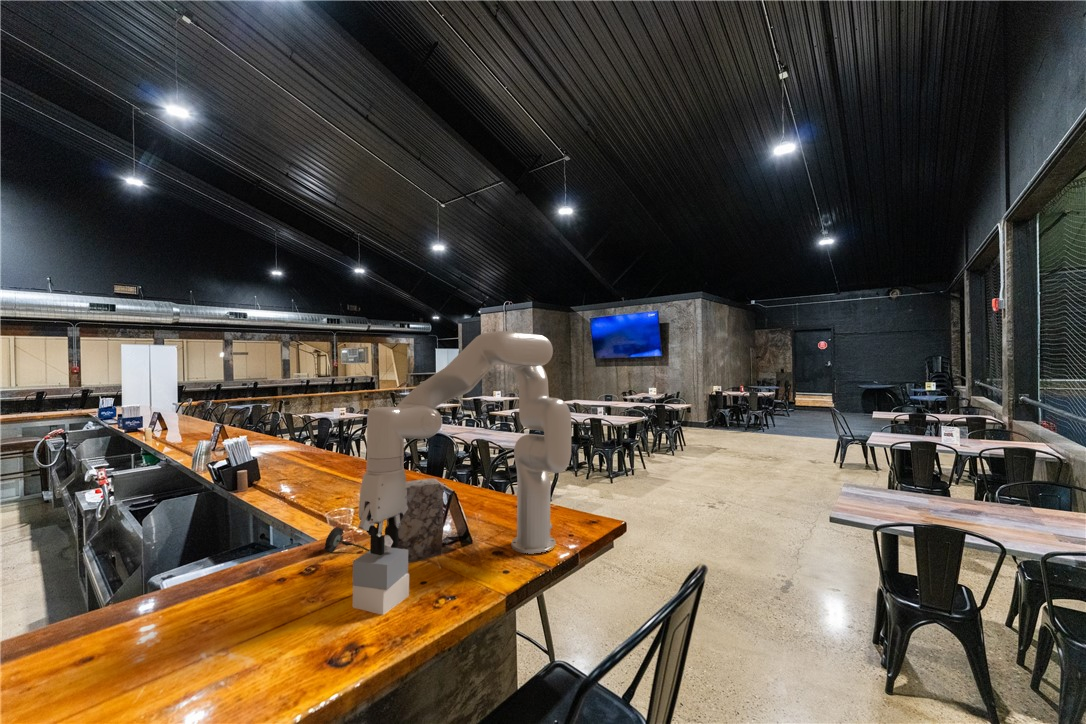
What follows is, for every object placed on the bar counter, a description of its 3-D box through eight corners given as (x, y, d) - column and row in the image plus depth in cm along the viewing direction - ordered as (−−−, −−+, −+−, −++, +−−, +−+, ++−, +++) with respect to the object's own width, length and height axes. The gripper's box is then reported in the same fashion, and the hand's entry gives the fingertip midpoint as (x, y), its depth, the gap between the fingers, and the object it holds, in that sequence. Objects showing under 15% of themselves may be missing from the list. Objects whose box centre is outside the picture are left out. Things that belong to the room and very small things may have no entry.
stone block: (396, 569, 106) (397, 488, 107) (386, 559, 111) (388, 483, 112) (445, 555, 114) (446, 480, 115) (434, 547, 120) (435, 476, 120)
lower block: (379, 590, 96) (380, 567, 96) (408, 596, 93) (409, 573, 93) (352, 608, 88) (353, 583, 89) (383, 616, 86) (383, 590, 86)
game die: (375, 555, 89) (375, 540, 89) (375, 548, 92) (375, 534, 92) (393, 552, 90) (393, 538, 90) (392, 546, 93) (392, 532, 94)
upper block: (376, 568, 96) (376, 546, 96) (408, 572, 94) (408, 549, 94) (352, 585, 88) (353, 560, 88) (386, 590, 86) (387, 565, 86)
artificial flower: (338, 549, 122) (348, 513, 125) (412, 563, 119) (420, 525, 122) (320, 553, 113) (331, 514, 116) (399, 568, 110) (408, 527, 113)
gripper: (397, 456, 101) (397, 534, 100) (341, 470, 85) (339, 563, 85) (423, 458, 98) (423, 538, 97) (370, 474, 83) (368, 569, 82)
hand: (384, 549), depth 91 cm, fingers closed on game die, 3 cm apart
